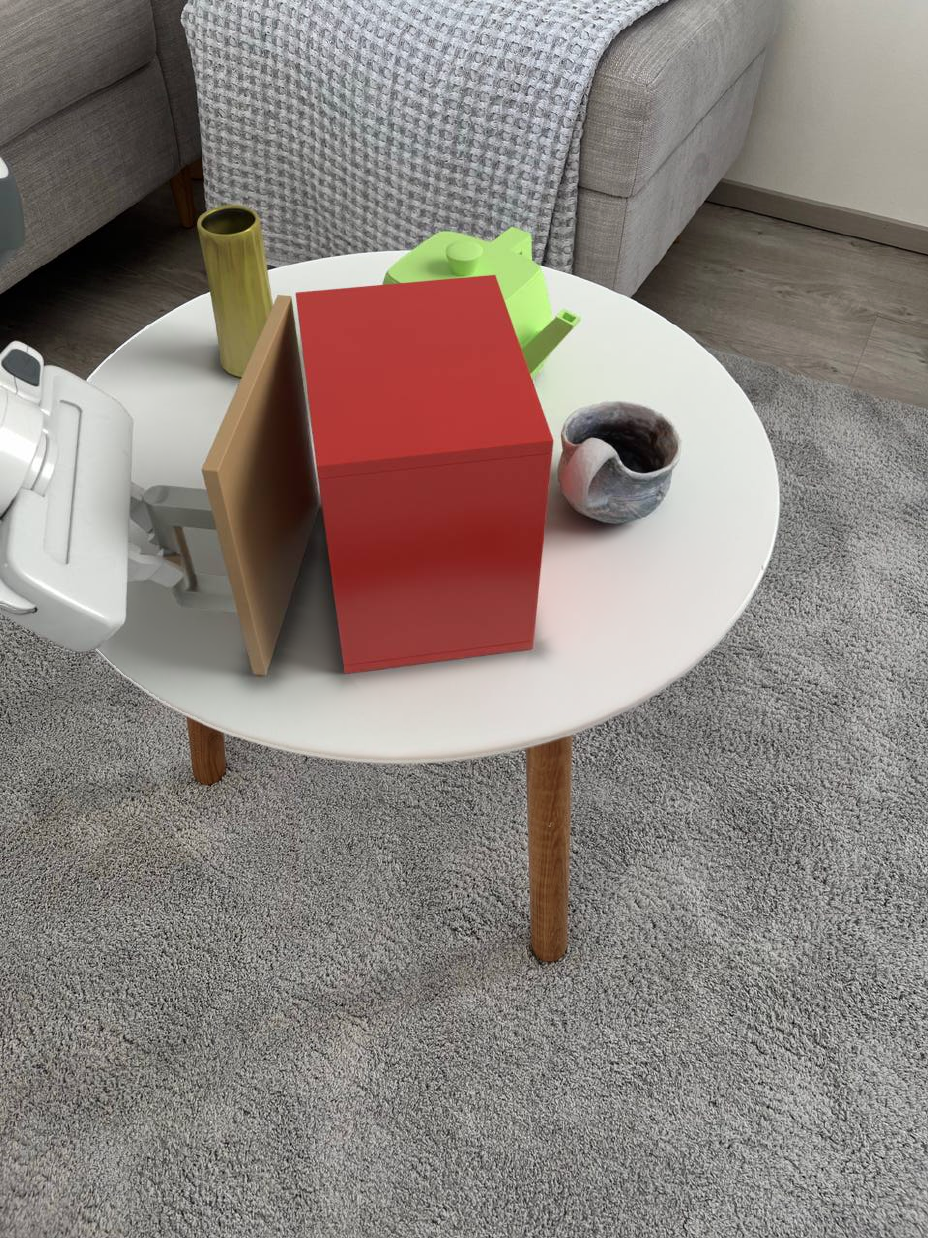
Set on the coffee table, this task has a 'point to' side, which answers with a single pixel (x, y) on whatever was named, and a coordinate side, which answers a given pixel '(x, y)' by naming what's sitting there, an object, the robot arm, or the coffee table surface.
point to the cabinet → (426, 469)
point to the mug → (617, 460)
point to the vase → (236, 281)
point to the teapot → (515, 278)
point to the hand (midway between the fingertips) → (178, 555)
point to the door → (251, 494)
